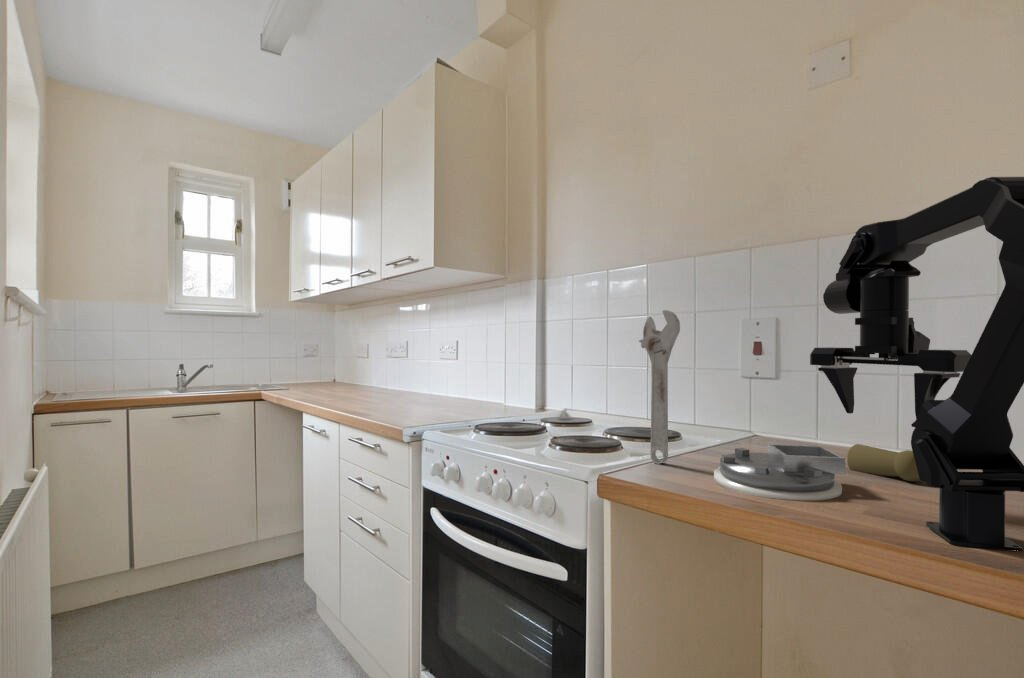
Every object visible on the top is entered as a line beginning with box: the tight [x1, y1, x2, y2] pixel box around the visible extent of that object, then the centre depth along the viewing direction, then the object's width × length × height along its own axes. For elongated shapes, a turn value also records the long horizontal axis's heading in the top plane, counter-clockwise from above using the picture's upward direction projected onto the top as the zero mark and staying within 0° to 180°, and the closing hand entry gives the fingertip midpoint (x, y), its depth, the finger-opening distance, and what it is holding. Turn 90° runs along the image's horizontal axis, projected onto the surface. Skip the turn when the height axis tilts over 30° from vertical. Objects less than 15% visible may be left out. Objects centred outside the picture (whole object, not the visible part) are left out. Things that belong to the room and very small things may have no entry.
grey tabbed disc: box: [719, 443, 846, 492], centre depth 84 cm, size 17×17×4 cm
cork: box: [846, 443, 921, 483], centre depth 89 cm, size 6×6×11 cm
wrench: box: [638, 309, 681, 465], centre depth 98 cm, size 8×2×30 cm, turn 46°
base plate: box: [713, 466, 843, 501], centre depth 84 cm, size 19×19×1 cm
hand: (883, 417), depth 73 cm, fingers open, 9 cm apart
